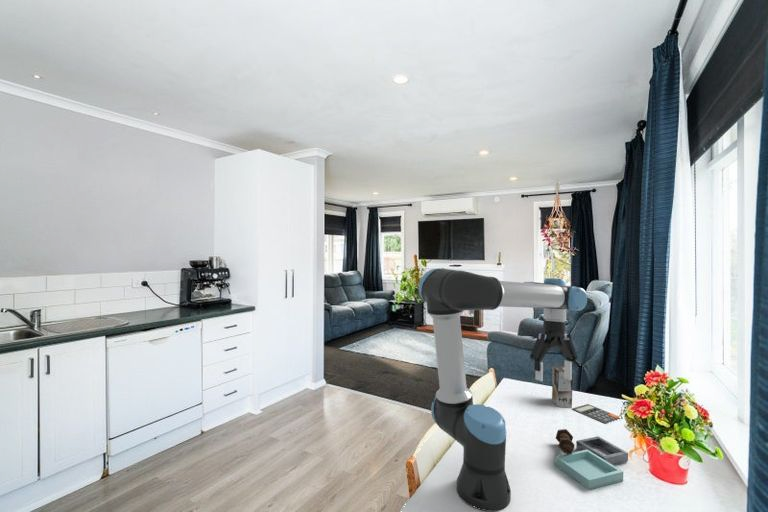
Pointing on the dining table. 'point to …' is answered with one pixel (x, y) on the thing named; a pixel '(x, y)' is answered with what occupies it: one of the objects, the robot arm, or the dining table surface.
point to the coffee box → (561, 388)
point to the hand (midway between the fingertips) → (553, 379)
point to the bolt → (565, 441)
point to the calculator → (596, 413)
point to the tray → (589, 469)
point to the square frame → (615, 453)
